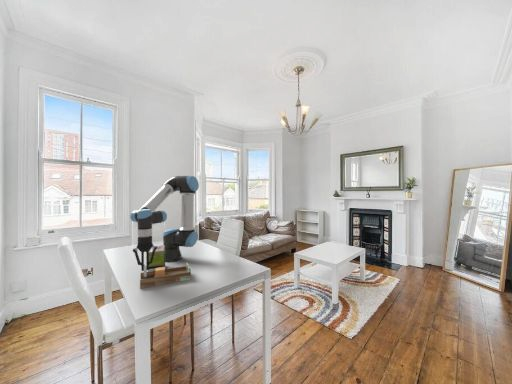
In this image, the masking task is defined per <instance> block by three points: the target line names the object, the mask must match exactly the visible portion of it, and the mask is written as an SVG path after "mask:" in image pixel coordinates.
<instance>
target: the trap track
mask: <svg viewBox="0 0 512 384" xmlns="http://www.w3.org/2000/svg"><path fill="white" fill-rule="evenodd" d="M191 271H192V270H191V267H190V265H189V263H188V262H185V265H183V266H178V267H169V268H165V276H160V277H156V275H155V271H149V272H148V271H147V277H144V271H141V272H140V279H139V289H144V288H150V287H157V286H161V285H168V284H172V283H177V282H178V283H179V282H185V281H188V280H191V276H192V275H191V274H192V273H191Z"/></svg>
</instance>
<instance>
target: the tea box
mask: <svg viewBox="0 0 512 384" xmlns="http://www.w3.org/2000/svg"><path fill="white" fill-rule="evenodd" d="M156 246H157V249H156V250H155V253H154V257H153V261H152V263H151V264H149V270H147V272H149V271H155V268H159V267H164V268H165V269H166V261H165V245H156ZM152 248H153V247H152ZM152 248H151V249H150V251H149V261H150V259H151V255H152V251H153V249H152Z"/></svg>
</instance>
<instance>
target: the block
mask: <svg viewBox="0 0 512 384" xmlns="http://www.w3.org/2000/svg"><path fill="white" fill-rule="evenodd" d="M165 269H166V267H165V268H164V267H159V268H155V275H156V277H160V276H165Z"/></svg>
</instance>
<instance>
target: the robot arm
mask: <svg viewBox="0 0 512 384" xmlns="http://www.w3.org/2000/svg"><path fill="white" fill-rule="evenodd" d="M199 187H200V184H199V180H198V179H197V177H196V176H195V175H176V176H173V177H171V178H169V179H168V180H166V181H164V183H163V184H162V185H161V188H160V189H159V190H157V191H156V193H155V194H154V195H153V196H152V197H151V198H150V199H148V200H147V201H146V202H145V204H143V205H142V206H141V207H140V208H139V209H136V210H133V211H131V213H130V215H129V216H130V219H131V220H130V221H132V222H135V223H137V236H138V237H137V244H136V246H135V247H134V248H132V252H133V253H134V256H135V260H136V262H137V265H138V266H140V267H141V272H144V277H147V272H148V270H149V264H151V263H152V261H153V257H154V253H155V250H156V249H157V246H158V245H154V243H153V236H152V235H153V225H155V224H161V223H164V222H166V220H167V217H168V215H167V212H166V211H164V210H157V209H158V208H159V207H160V205H162V203H163V202H164V201H165V200H166V199H167V198H168V197H169V196H170V195H172V194H174V193H175V192H179V194H180V195H181V205H180V206H181V212H180V213H181V217H180V227H177V228H176V227H175V228H169V229H166V230H164V231H163V234H162V239H163V241H162V243H163V245H165V263H166V262H176V261H179V260H181V259H182V257H183V256H182V252H181V249H180V247H184V248H192V247H195V245H196V244H197V242H198V239H199V238H198V237H199V234H198V232H197V231H196V230H195V227H194V195H196V192H198V190H199ZM152 247H153V248H152ZM151 248H152V249H153V251H152V255H151V259H150V261H149V251H150V249H151ZM138 251H139V252H140V255H141V257H140V256H139V252H138ZM145 252H146V253H145ZM145 254H146V256H145ZM145 257H146V258H145ZM140 258H141V259H140ZM145 259H146V263H145Z"/></svg>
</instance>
